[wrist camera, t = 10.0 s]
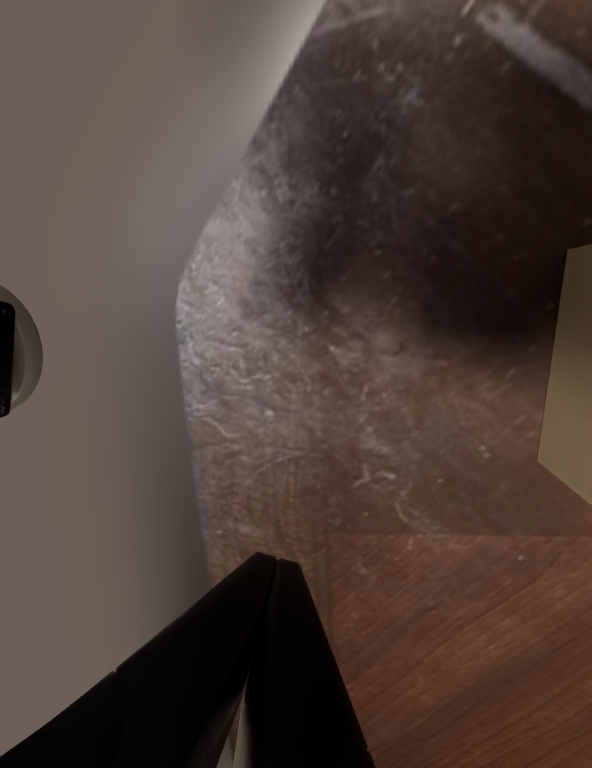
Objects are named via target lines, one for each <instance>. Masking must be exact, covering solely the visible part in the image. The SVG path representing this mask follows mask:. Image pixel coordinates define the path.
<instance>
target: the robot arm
mask: <svg viewBox="0 0 592 768" xmlns="http://www.w3.org/2000/svg"><path fill="white" fill-rule="evenodd" d="M3 309H4V310H5V315H4V314H3ZM15 315H16V313H15V309H14V307H13V306H12V305H11V304H10V303H8V302H4V301H0V418H1V417H4V416H6V415H8V414H9V413H10V405H11V387H12V369H13V351H14V333H15ZM276 563H277V564H276ZM275 567H276V568H275ZM274 571H275V572H274ZM256 642H257V643H256ZM255 646H256V647H255ZM254 650H255V651H254ZM253 654H254V655H253ZM252 658H253V659H252ZM251 662H252V663H251ZM250 666H251V667H250ZM249 670H250V671H249ZM248 674H249V675H248ZM247 678H248V679H247ZM246 681H247V684H246ZM245 685H246V688H245ZM244 688H245V692H244ZM243 692H244V697H243V703H242V709H241V716H240V722H239V729H238V736H237V743H236V750H235V757H234V764H233V768H376V767H375V764H374V761H373V759H372V756H371V754H370V752H369V751H366V750H367V743H366V741H365V738H364V735H363V733H362V730H361V727H360V725H359V722H358V719H357V717H356V714H355V711H354V709H353V706H352V703H351V701H350V698H349V695H348V693H347V690H346V687H345V684H344V682H343V679H342V676H341V674H340V671H339V668H338V666H337V663H336V660H335V658H334V655H333V652H332V650H331V647H330V644H329V642H328V639H327V636H326V634H325V631H324V628H323V626H322V623H321V620H320V618H319V615H318V612H317V610H316V607H315V604H314V602H313V599H312V596H311V594H310V591H309V588H308V586H307V583H306V580H305V577H304V575H303V572H302V569H301V567H300V565H299V564H298V563H296V562H293V561H289V560H286V559H282V558H280V559H279V560H278V561H277V559H276V557H275V556H271V555H268V554H264V553H261V552H256V553H255V554H253V555H252V556H251V557H250V558H248V559H247V560H246V561H245V562H244V563H242V564H241V565H240V566H239V567H238V568H236V569H235V570H234V571H233V572H232V573H230V574H229V575H228V576H227V577H226V578H224V579H223V580H222V581H221V582H220V583H218V584H217V585H216V586H215V587H213V588H212V589H211V590H210V591H209V592H207V593H206V594H205V595H204V596H203V597H201V598H200V599H199V600H198V601H197V602H195V603H194V604H193V605H192V606H191V607H189V608H188V609H187V610H186V611H184V612H183V613H182V614H181V615H180V616H178V617H177V618H176V619H175V620H174V621H172V622H171V623H170V624H169V625H168V626H167V627H165V628H164V629H163V630H162V631H160V632H159V633H158V634H157V635H156V636H154V637H153V638H152V639H151V640H149V641H148V642H147V643H146V644H145V645H143V646H142V647H141V648H140V649H139V650H137V651H136V652H135V653H134V654H133V655H131V656H130V657H129V658H128V659H127V660H125V661H124V662H123V663H122V664H120V665H119V666H118V667H117V669H116V672H114V671H112V672H110V673H109V674H108V675H107V676H106V677H104V678H103V679H102V680H101V681H100V682H98V683H97V684H96V685H95V686H94V687H92V688H91V689H90V690H89V691H88V692H86V693H85V694H84V695H83V696H81V697H80V698H79V699H78V700H76V701H75V702H74V703H72V704H71V705H70V706H69V707H67V708H66V709H65V710H64V711H62V712H61V713H60V714H58V715H57V716H56V717H55V718H53V719H52V720H51V721H49V722H48V723H47V724H45V725H44V726H43V727H41V728H40V729H39V730H37V731H36V732H34V733H33V734H31V735H30V736H29V737H27V738H26V739H25V740H23V741H22V742H20V743H19V744H17V745H16V746H15V747H13V748H12V749H10V750H9V751H8V752H6V753H5V754H3V755H2V756H1V757H0V768H216V767H217V764H218V761H219V759H220V756H221V753H222V750H223V748H224V745H225V742H226V740H227V737H228V734H229V732H230V729H231V726H232V723H233V721H234V718H235V715H236V713H237V710H238V707H239V704H240V701H241V698H242V695H243Z"/></svg>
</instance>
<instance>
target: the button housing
mask: <svg viewBox="0 0 592 768" xmlns="http://www.w3.org/2000/svg"><path fill="white" fill-rule="evenodd" d="M537 461H538V462H539V463H540V464H541V465H543V466H544V467H545V468H546V469H548V470H549V471H550V472H551V473H552V474H554V475H555V476H556V477H557V478H559V479H560V480H561V481H562V482H563V483H565V484H566V485H567V486H568V487H570V488H571V489H572V490H573V491H574V492H576V493H577V494H578V495H579V496H580V497H582V498H583V499H584V500H585V501H587V502H588V503H589V504H590V505H591V506H592V244H589V245H585V246H580V247H576V248H572V249H568V250H567V256H566V263H565V270H564V277H563V284H562V291H561V298H560V305H559V312H558V319H557V326H556V333H555V339H554V346H553V353H552V360H551V367H550V374H549V381H548V388H547V395H546V402H545V409H544V416H543V423H542V430H541V437H540V444H539V451H538V458H537Z"/></svg>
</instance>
